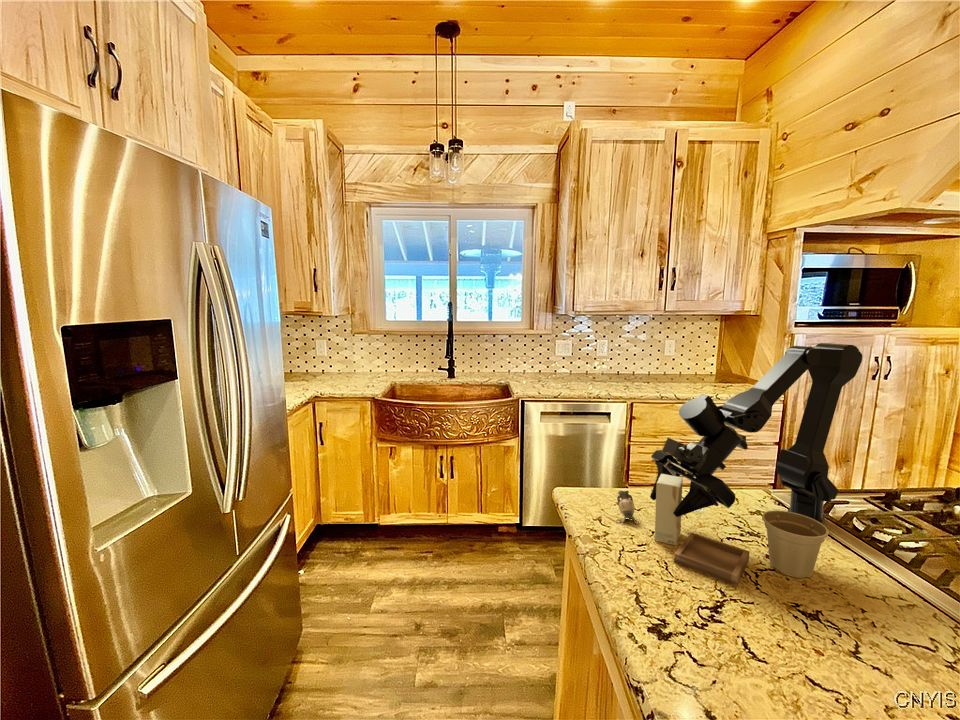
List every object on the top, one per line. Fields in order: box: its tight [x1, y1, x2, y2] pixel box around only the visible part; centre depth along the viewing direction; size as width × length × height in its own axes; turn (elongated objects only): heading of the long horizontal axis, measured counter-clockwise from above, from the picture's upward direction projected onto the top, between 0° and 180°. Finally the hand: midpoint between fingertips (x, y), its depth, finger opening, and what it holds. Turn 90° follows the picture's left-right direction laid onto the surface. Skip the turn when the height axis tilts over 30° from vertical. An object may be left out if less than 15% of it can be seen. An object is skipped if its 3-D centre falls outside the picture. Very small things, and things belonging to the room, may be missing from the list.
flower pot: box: [761, 509, 830, 579], centre depth 73 cm, size 9×9×9 cm
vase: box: [615, 490, 640, 524], centre depth 92 cm, size 5×5×6 cm
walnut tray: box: [673, 532, 750, 588], centre depth 76 cm, size 10×10×2 cm
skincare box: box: [654, 474, 684, 546], centre depth 84 cm, size 6×4×12 cm
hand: (662, 506), depth 83 cm, fingers closed on skincare box, 7 cm apart
